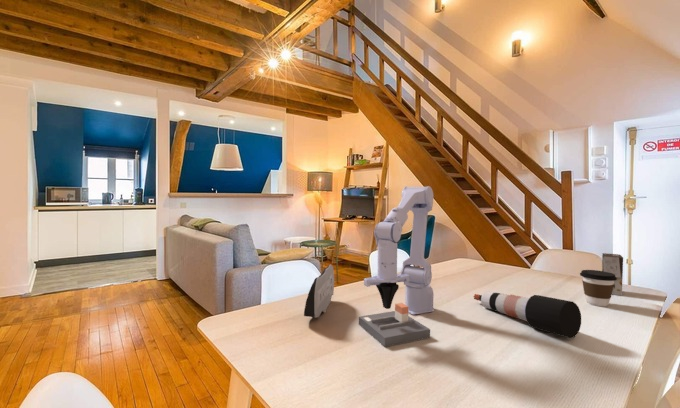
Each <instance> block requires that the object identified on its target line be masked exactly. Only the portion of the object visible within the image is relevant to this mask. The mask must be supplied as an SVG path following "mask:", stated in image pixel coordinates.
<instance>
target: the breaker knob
mask: <svg viewBox="0 0 680 408" xmlns="http://www.w3.org/2000/svg"><path fill="white" fill-rule="evenodd" d="M394 311H395V319H396V320H398V321H399V322H404V321H408V316H409V312H408V306H406V305H405V303H403V302H399V303H395V304H394Z"/></svg>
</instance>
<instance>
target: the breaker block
mask: <svg viewBox="0 0 680 408" xmlns="http://www.w3.org/2000/svg"><path fill="white" fill-rule="evenodd" d="M358 325H359V326H360V327H361V328H362V329H363V330H364V331H365V332H366V333H368V334H369V335H370V336H371V337H372V336H373V337H372V338H374V339H375V340H376V341H377V342H378V343H379V344H380V343H381V346H382V347H384V348H387V347H392V346H396V345H401V344H407V343H412V342H417V341H421V340H426V339H430V338H431V329H430V328H429V327H427V326H425V325H424V324H422V323H421V322H419V321H417V320H415V319H414V318H413V317H411V316H409V315H408V321H404V322H399V321H398V320H396V319H395V310H394V311H387V312H386V311H385V312H380V313H379V312H378V313H372V314H368V315H362V316H361V315H360V316H358Z"/></svg>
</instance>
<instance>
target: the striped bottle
mask: <svg viewBox="0 0 680 408" xmlns="http://www.w3.org/2000/svg"><path fill="white" fill-rule="evenodd" d="M473 300H476V301H479V302H480V303H481V306H482V307H483V308H484V309H485V308H486V309H489V310H492V311H495V312H499V313H501V314H505V315H507V316H509V317H512V318H516V319H519V320H523V321H526V322H527V323H528V324H529V326H530V327H532V328H534V329H536V330H537V329H538V330H541V331H544V332H547V333H552V334H554V335H558V336H561V337H564V338H565V337H566V338H568V339H572V338H575V337H576V336H577V335H578V334H579V332H580V329H581V325H582V314H581V309H580V308H579V305H578V304H577V303H575V302H574V301H571V300H565V299H560V298H555V297H550V296H544V295H539V294H538V295H537V294H533V295H532V296H530V297H526V296H519V295H515V294H507V293H506V294H505V293H499V292H493V291H489V290H486V291H484V292H483V293H482V294H477V293H475V294H474V295H473Z"/></svg>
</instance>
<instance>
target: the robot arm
mask: <svg viewBox="0 0 680 408" xmlns="http://www.w3.org/2000/svg"><path fill="white" fill-rule="evenodd" d="M433 207H434V191H433V189H432V187H431V186H430V185H427V186H404V187H403V188H402V191H401V200H400V201H399V204H398V205H397V206H395V207H393V208H391V210H390V211H389V213H388V214H387V216H386V217H385V218H384V220H383V221H380V222H379V223H376V224H375V228H374V231H373V234H374V235H373V236H374V239H375V245H376V247H377V275H375V276H370V277H366V278H363V285H364V287H368V288H369V287H371V286H376V289H377V291H378V293H379V295H380V299H381V302H382V308H384V309H386V310H388V309H391V307H392V304H393V300H394V297H395V295H396V293H397V291H398V290H399V288H400V286H399V284H398V283H403V286H405V290H404V291H405V302H404V304H405V305H406V306H408V314H411V315H413V316H414V315H420V314H427V313H432V312H435V309H434V289H433V287H432V286H431V285H430V284H431V283H432V280H433V279H432V277H433V276H432V275H433V274H432V265H431V263H430V262H429V261H428V260H427V259H426V258H425V247H426V238H427V237H426V235H427V226H428V225H427V224H428V215H429V212H430V211H432V210H433ZM409 211H411V212H412V213H413V219H412V230H411V231H412V232H411V242H410V252H409V253H410V254H409V257H408V258H405V260H403V261H402V266H401V269H400V273H399V274H398V242H400V240H401V237H402V232H403V227H404V225H405V224H406V222H407V220H408V218H409V215H408V213H409Z"/></svg>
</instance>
